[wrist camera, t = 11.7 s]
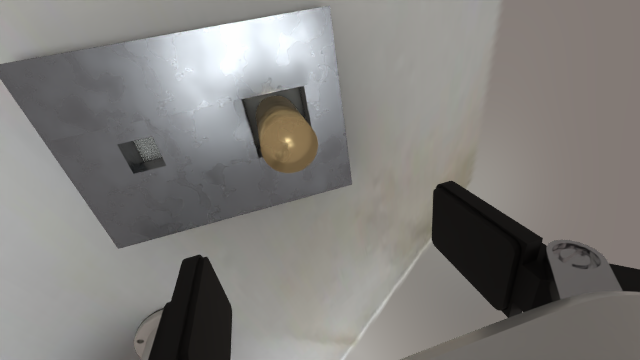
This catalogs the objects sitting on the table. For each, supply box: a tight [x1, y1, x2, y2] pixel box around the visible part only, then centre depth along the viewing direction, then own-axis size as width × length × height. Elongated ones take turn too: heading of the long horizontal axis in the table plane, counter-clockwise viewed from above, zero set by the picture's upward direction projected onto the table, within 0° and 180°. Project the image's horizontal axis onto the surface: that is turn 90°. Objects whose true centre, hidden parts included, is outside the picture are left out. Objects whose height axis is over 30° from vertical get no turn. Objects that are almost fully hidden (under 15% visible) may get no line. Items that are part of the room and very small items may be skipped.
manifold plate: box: [0, 6, 352, 249], centre depth 27 cm, size 18×26×3 cm
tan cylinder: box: [256, 96, 318, 173], centre depth 25 cm, size 4×4×10 cm
